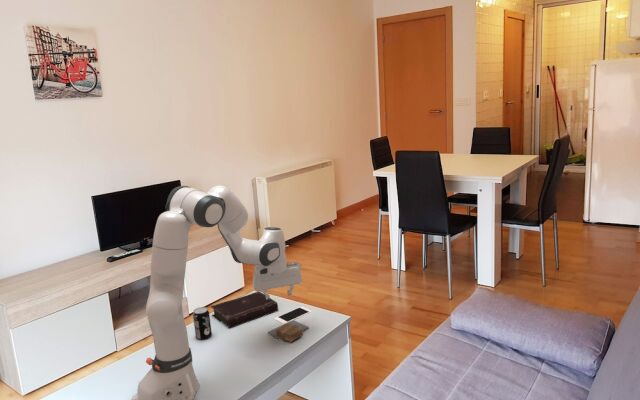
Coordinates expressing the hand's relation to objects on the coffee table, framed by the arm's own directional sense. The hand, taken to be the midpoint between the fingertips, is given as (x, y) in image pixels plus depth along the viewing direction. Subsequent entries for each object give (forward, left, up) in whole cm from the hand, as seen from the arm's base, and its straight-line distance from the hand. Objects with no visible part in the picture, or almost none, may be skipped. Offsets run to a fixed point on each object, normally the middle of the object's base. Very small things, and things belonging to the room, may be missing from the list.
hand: (278, 296), depth 212 cm
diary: (-1, +26, -16) cm, 30 cm away
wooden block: (-2, -12, -13) cm, 17 cm away
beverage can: (-25, +21, -15) cm, 36 cm away
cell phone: (+12, +7, -16) cm, 21 cm away
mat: (+1, -3, -15) cm, 15 cm away
